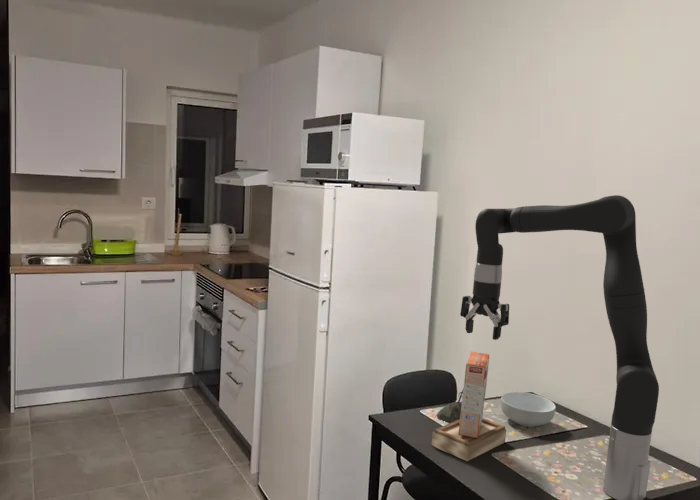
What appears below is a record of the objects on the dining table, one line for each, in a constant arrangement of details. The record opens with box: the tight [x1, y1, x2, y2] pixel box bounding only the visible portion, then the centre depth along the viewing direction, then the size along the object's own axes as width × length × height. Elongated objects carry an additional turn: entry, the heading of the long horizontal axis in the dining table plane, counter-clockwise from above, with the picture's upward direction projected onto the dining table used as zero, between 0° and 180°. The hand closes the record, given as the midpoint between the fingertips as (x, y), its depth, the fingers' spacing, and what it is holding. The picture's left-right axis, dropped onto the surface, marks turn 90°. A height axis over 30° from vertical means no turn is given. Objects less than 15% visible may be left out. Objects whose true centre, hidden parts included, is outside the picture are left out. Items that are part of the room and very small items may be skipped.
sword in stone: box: [436, 390, 463, 424], centre depth 195 cm, size 10×8×12 cm
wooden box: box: [431, 417, 507, 462], centre depth 177 cm, size 12×20×5 cm, turn 136°
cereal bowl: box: [500, 391, 557, 428], centre depth 197 cm, size 17×17×7 cm
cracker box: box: [459, 351, 490, 438], centre depth 175 cm, size 14×6×21 cm, turn 164°
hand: (482, 336), depth 173 cm, fingers open, 8 cm apart
